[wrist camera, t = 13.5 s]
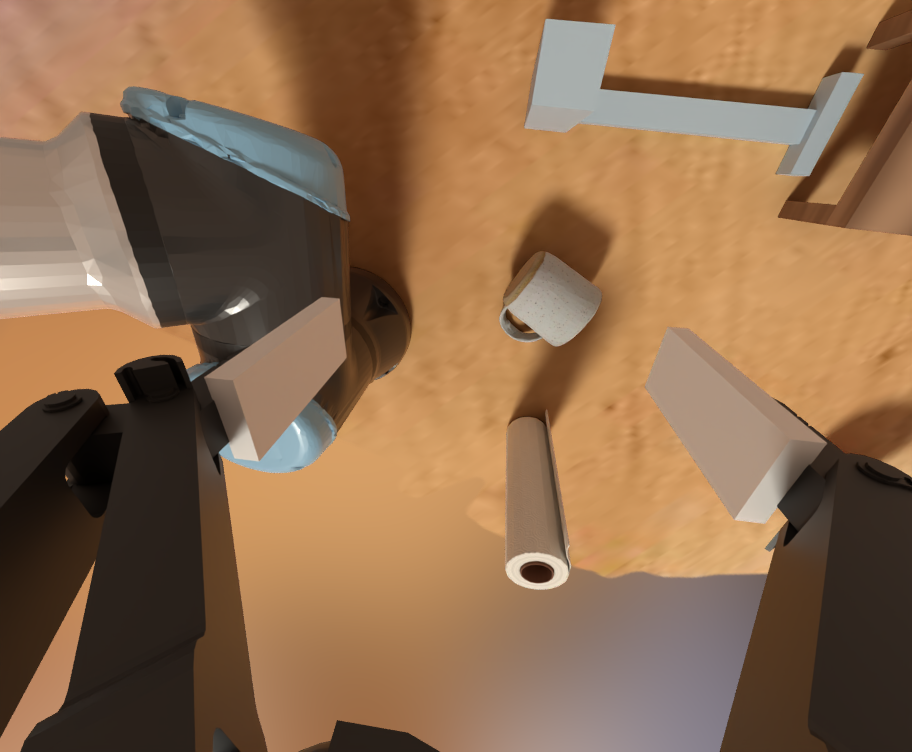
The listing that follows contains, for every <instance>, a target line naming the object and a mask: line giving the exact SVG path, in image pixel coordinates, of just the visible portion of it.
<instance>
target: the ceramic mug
mask: <svg viewBox="0 0 912 752" xmlns="http://www.w3.org/2000/svg"><path fill="white" fill-rule="evenodd" d="M601 300H602V292H601V290H600V289H599V288H598V287H596V286H595V285H593V284H592V283H591V282H589V281H588V280H587V279H585V278H584V277H583V276H581V275H580V274H579V273H577V272H576V271H575V270H573V269H572V268H570V267H569V266H568V265H566V264H565V263H564V262H562V261H561V260H560V259H559V258H557V257H556V256H554V255H552V254H550V253H548V252H546V251H539V252H536V253H535V254H534V255H533V256H532V257H531V258H530V259H529V260H528V261H527V262H526V263H525V265H524V266H523V267H522V268H521V270H520V271H519V272H518V274H517V275H516V276H515V278H514V279H513V281H512V282H511V284H510V285H509V287H508V288H507V290H506V292H505V294H504V297H503V301H504V304H505V305H504V307H503V309H502V311H501V314H500V317H499V320H500V325H501V327H502V329H503V330H504V331H505V333H506V334H508V335H509V336H510V337H512V338H513V339H515V340H517V341H521V342H533V341H537V340H539V339H542V338H544V339H545V340H546V341H547V342H548V343H550V344H551V345H553V346H561V345H563V344H565V343H566V342H568V341H570V340H571V339H572V338H574V337H575V336H576V335H577V334H578V333H579V332H580V331H581V330H582V329H583V328H584V327H585V326H586V325H587V323H588V322H589V321H590V320H591V319H592V317H593V316H594V315H595V313H596V311H597V310H598V307H599V305H600V303H601ZM507 309H509V310H510V312H511V313H512V314H514V315H515V316H516V317H517V318H519V319H520V320H521V321H523V322H524V323H526V324H527V325H528V326H529V327H530V328H531V329H533V330H534V331H535V332H536V333H523V332H521V331H519V330H518V329H517V328H516V327H514V326H513V325H512V324H511V323H510V321H509V320H507V319H506V313H505V311H506V310H507Z"/></svg>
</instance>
